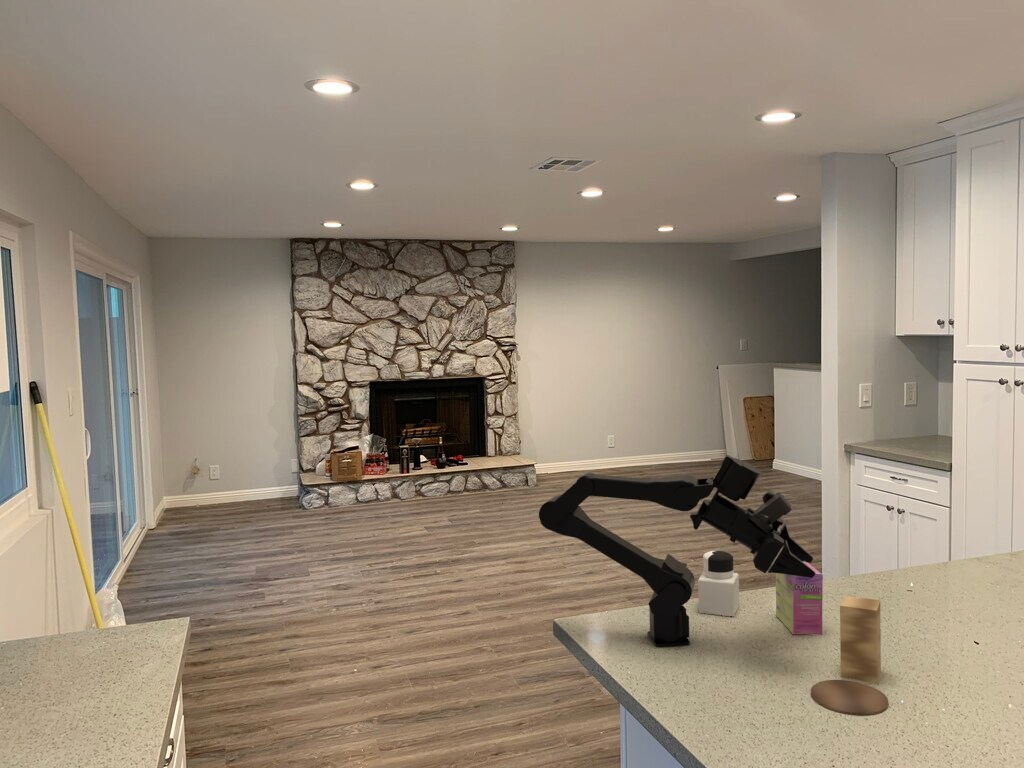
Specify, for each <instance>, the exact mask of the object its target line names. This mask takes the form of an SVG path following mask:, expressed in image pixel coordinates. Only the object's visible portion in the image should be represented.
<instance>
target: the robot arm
mask: <svg viewBox="0 0 1024 768" xmlns="http://www.w3.org/2000/svg"><path fill="white" fill-rule="evenodd" d="M761 474H762V472H761V471H760V470H759V469H758V468H757V467H756V466H754V465H752V464H751V463H749V462H747V461H745V460H743V461H742V460H741V459H738V458H736V457H733V456H730V455H729V454H726V455H725V457H724V458H723V461H722V463H721V466H720V467H719V469H718V471H717V472H716V474H715V476H714V477H704V478H696V477H695V476H694V475H689V474H681V475H672V476H664V477H659V478H642V477H631V476H630V477H629V476H619V475H618V476H617V475H607V474H606V475H604V474H595V473H592V472H587V473H584V474H582V475H581V476H579V477H578V479H577V480H576V481H575V483H574V484H572V485H571V486H570V487H569V488H568V489H567V490H566V491H565V492H563V493H562V494H558V495H555V496H553V497H551V498H550V499H548V500H547V501H546V502H545V503H543V504H542V505H541V507H540V508H539V511H538V518H539V522H540V524H541V526H542V527H543V528H544V529H546V530H548V531H551V532H553V533H556V534H557V535H560V536H563V537H564V536H565V537H570V538H574V539H577V540H579V541H582V542H583V543H585V544H586V545H587V546H590V547H591V548H593V549H595V550H596V551H598V552H599V553H601V554H602V555H604V556H606V557H607V558H609V559H611V560H613V561H614V562H616V563H617V564H619V565H620V566H622V567H624V568H626V570H629V571H630V572H632V573H634V574H635V575H637V576H639V577H640V578H641V579H642V580H644V582H645V583H646V584H647V586H649V588H650V589H651V590H652V591H653V593H652V595H651V598H650V599H649V602H648V607H649V630H648V631H647V636H648V638H649V639H650V641H651V642H652V643H653V644H654V646H655V647H669V646H671V647H672V646H683V645H684V646H685V645H690V643H691V641H690V640H689V637H690V616H689V615H688V614H687V608H686V607H685V606H684V605H685V604H687V603H688V602H689V601H690V599H691V597H692V595H693V591H694V588H695V585H696V584H695V583H696V580H695V576H694V573H693V572H692V571H691V569H689V568H688V563H684V562H682V561H679V560H678V559H676V558H675V557H674V556H673V555H672V554H669V553H668V554H666V557H665V559H662V558H657V557H655V556H653V555H651V554H650V553H647V552H646V551H644V550H643V549H641V548H639V547H637V546H636V545H634V544H632V543H631V542H629V541H628V540H626V539H624V538H623V537H621V536H619V535H617V534H615V533H614V532H612V531H611V530H610V529H607V528H606V527H604V526H602V525H601V524H600V523H598V522H596V521H594V520H592V518H590V517H589V516H588V514H587V513H586V512H585V510H584V509H583V508H582V507H581V506H580V505H581V504H582V503H583V502H584V501H585V500H586V499H588V498H589V497H600V498H609V499H610V498H611V499H612V498H613V499H622V500H623V499H624V500H634V501H635V500H636V501H645V502H650V503H651V502H652V503H654V504H657V505H660V506H662V507H664V508H668V509H671V510H672V509H673V510H675V511H680V512H689V511H692V510H693V509H695V508H696V507H697V506H698V504H699V502H700V501H701V500H702V502H701V504H700V506H699V508H698V509H697V511H695V512H691V513H690V515H689V518H690V519H691V521H692V525H693V529H694V530H695V531H696V530H698V529H699V527H700V525H701V524H702V522H703V523H705V524H707V525H709V526H710V527H712V528H714V529H715V530H716V531H719V532H721V533H722V534H724V535H726V536H727V537H729V539H728V541H731V543H733V544H735V542H737V543H739V544H741V545H742V546H744V547H745V548H748V549H749V551H750V552H749V553H751V554H752V562H753V565H754V569H757V570H758V571H760V572H762V573H764V574H766V573H768V574H776V573H780V574H788V575H795V576H802V577H809V578H813V577H814V575H815V572H814V571H813V570H812V569H811V568H810V567H809V566H807V565H806V564H805V563H803V562H808V563H809V564H811V563H812V561H813V560H814V557H813V556H812V554H810V553H809V551H806V549H805V548H804V547H802V546H801V545H800V544H799V543H798V542H797V541H796V540H795V539H794V538H793V537H791V535H790V533H789V529H788V525H787V523H786V522H784V519H783V518H782V517H783V516H786V515H788V514H789V513H790V512H791V511H792V504H790V502H789V501H788V500H787V499H786V498H785V496H784V494H782V493H781V492H778V491H777V492H776V493H774V492H772V491H767V492H765V493H764V494H763V495H762V502H763V503H762V504H760V506H759V507H757V508H756V509H752V508H751V507H746V508H743V507H741V506H739V504H737V503H735V502H739V501H740V500H744V501H746V499H747V498H748V496H749V494H750V493H751V491H752V490H753V487H754V486H755V484H756V482H757V481H758V479H759V477H760V476H761ZM714 488H715V489H716V490H715V492H714V494H713V496H712V498H710V500H709V499H706V498H709V496H710V495H711V494H712V492H713V491H714ZM732 501H733V502H732ZM780 526H781V528H780ZM802 561H803V562H802Z"/></svg>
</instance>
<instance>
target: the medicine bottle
mask: <svg viewBox="0 0 1024 768" xmlns="http://www.w3.org/2000/svg"><path fill="white" fill-rule="evenodd" d="M702 557H703V559H702V565H703V566H702V567H703V568H702V569H703V572H702V574H701V575H700V577H699V578H698V580H697V588H698V589H697V590H698V591H697V592H698V613H700V614H704V613H705V615H712V614H713V615H714V616H721V615H722V617H730V616H732V617H731V618H733V616H734V617H735V615H736V613H737V611H738V608H739V607H740V583H739V582H740V581H739V578H740V577H739V573H737V572H734V556H733V554H731V553H729V552H727V551H724V550H710V551H707V552H705V553H704V554H703V556H702Z"/></svg>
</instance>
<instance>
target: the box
mask: <svg viewBox="0 0 1024 768" xmlns="http://www.w3.org/2000/svg"><path fill="white" fill-rule="evenodd" d="M802 562H803V561H802ZM803 563H805V564H806V565H807V566H809V567H810V568H811V569H812V570H813V571H814V572H815V575H814V577H813V578H809V577H802V576H795V575H788V574H780V573H775V616H776V617H777V618H778V619H779V620H780V621H781V623H782V624H783V625H784V626H785V627H786V628H787V629H788V631H790V633H792V635H793V634H794V635H793V636H799V635H798V634H802V635H801V636H807V635H806V634H821V635H823V598H824V597H823V595H824V594H823V591H824V590H823V585H824V584H823V583H824V582H823V581H824V580H823V578H824V575H823V573H821V572H820V571H819V570H817V569H816V568H815V567H814V566H812V564H811V563H808V562H803ZM795 634H797V635H795ZM803 634H805V635H803Z"/></svg>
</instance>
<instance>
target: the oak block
mask: <svg viewBox="0 0 1024 768" xmlns="http://www.w3.org/2000/svg"><path fill="white" fill-rule="evenodd" d="M881 615H882V614H881V599H872V598H864V597H856V596H850V595H844V596H843V599H842V601H841V603H840V605H839V636H840V637H839V641H840V644H839V645H840V647H839V648H840V649H839V650H840V678H843V677H844V679H851V680H854V679H855V680H856V681H861V682H867V683H871V684H873V683H874V684H879V679H880V676H881V673H882V656H881V655H882V654H881V653H882V647H881V646H882V643H881V642H882V637H881V635H882V632H881V631H882V630H881V622H882V621H881V620H882V619H881Z"/></svg>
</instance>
